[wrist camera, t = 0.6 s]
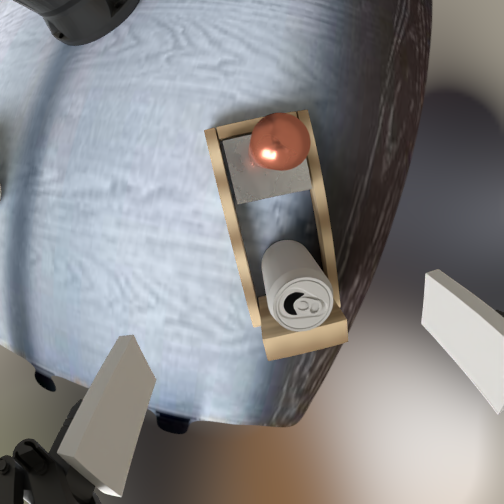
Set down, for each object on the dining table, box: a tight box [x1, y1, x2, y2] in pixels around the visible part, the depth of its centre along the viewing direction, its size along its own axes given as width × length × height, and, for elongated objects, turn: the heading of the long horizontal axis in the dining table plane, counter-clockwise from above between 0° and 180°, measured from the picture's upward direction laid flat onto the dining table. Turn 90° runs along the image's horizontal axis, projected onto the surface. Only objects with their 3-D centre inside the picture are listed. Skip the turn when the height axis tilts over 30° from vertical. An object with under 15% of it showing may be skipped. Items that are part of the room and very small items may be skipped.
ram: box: [223, 113, 312, 205], centre depth 25 cm, size 7×8×17 cm
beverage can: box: [261, 240, 333, 332], centre depth 31 cm, size 6×6×12 cm
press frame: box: [204, 110, 348, 361], centre depth 30 cm, size 25×12×10 cm, turn 13°
